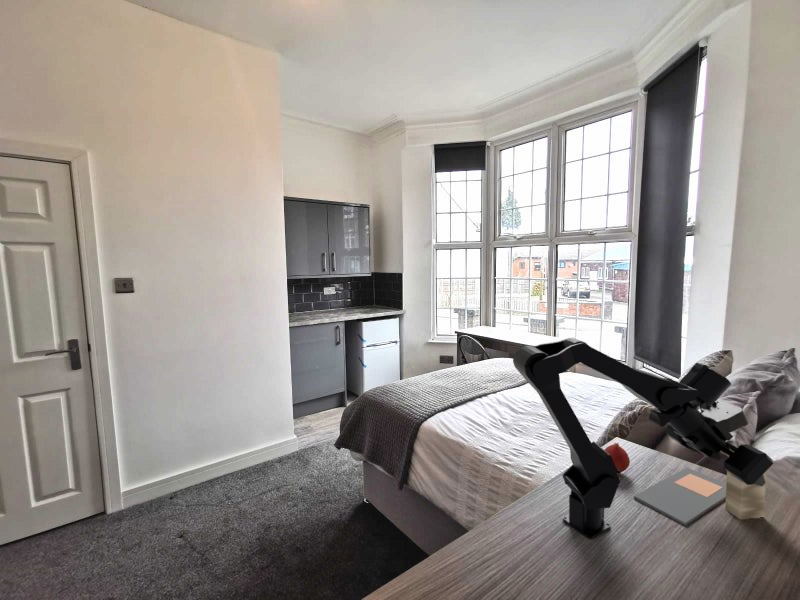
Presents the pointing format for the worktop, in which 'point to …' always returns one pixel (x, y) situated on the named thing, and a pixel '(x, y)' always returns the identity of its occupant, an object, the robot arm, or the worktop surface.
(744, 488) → the cream block
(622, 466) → the onion
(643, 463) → the worktop surface
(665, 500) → the mat
